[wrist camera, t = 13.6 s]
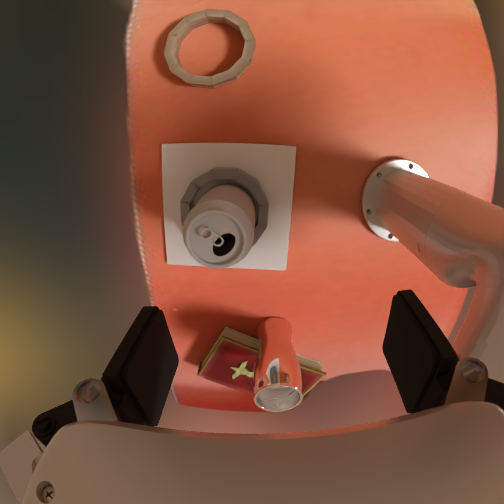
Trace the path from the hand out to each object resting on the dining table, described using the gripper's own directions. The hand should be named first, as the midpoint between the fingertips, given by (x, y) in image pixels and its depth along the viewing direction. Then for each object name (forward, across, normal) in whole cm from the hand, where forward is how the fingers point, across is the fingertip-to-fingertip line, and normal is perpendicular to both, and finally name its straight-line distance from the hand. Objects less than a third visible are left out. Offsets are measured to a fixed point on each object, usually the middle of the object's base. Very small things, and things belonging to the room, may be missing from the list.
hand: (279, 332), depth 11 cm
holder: (+29, +6, +2) cm, 30 cm away
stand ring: (+29, +6, -20) cm, 36 cm away
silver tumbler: (+30, +1, +24) cm, 38 cm away
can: (+29, +6, +2) cm, 29 cm away
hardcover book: (+30, +4, +33) cm, 45 cm away
